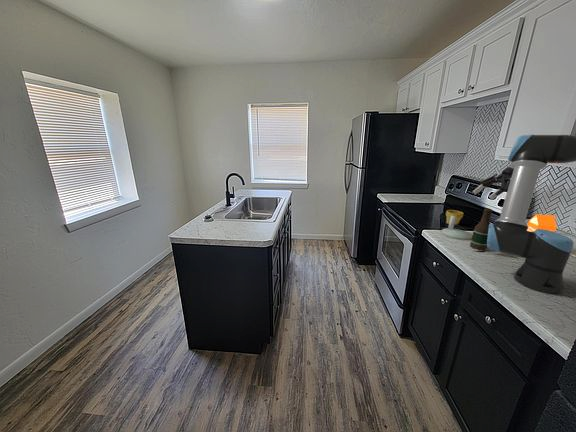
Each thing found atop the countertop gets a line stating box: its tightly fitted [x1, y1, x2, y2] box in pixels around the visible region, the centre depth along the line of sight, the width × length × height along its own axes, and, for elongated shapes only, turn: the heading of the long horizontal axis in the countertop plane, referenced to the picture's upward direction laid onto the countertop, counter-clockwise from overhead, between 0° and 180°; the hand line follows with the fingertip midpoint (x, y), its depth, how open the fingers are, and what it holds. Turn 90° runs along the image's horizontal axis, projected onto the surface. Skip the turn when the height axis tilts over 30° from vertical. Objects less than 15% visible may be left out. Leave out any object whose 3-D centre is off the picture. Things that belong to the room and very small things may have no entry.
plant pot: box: [445, 209, 464, 226], centre depth 178 cm, size 10×10×10 cm
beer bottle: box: [469, 208, 493, 253], centre depth 135 cm, size 8×8×24 cm
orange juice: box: [527, 213, 557, 232], centre depth 140 cm, size 8×9×20 cm
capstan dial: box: [441, 216, 473, 241], centre depth 155 cm, size 16×16×11 cm
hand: (481, 195), depth 152 cm, fingers open, 13 cm apart
